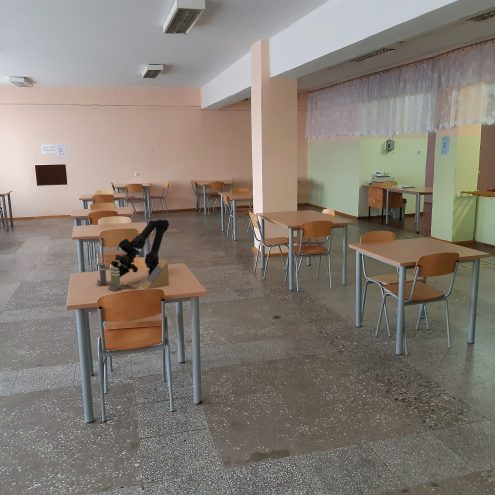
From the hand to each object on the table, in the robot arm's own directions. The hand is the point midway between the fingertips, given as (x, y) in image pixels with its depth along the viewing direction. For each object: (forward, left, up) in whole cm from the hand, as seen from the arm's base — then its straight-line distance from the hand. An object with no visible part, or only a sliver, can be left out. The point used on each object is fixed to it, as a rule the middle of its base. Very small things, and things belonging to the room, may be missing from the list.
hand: (117, 278), depth 285 cm
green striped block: (+1, +1, -5) cm, 6 cm away
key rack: (+3, -6, -7) cm, 9 cm away
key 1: (+8, -13, -5) cm, 16 cm away
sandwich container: (-22, +2, -7) cm, 23 cm away
